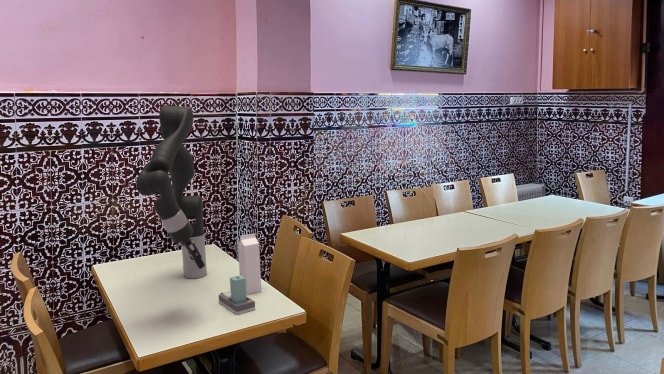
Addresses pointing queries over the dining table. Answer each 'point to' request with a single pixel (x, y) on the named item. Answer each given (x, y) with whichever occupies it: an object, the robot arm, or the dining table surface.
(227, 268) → the dining table surface
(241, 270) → the milk
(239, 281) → the block
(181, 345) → the dining table surface
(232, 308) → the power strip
